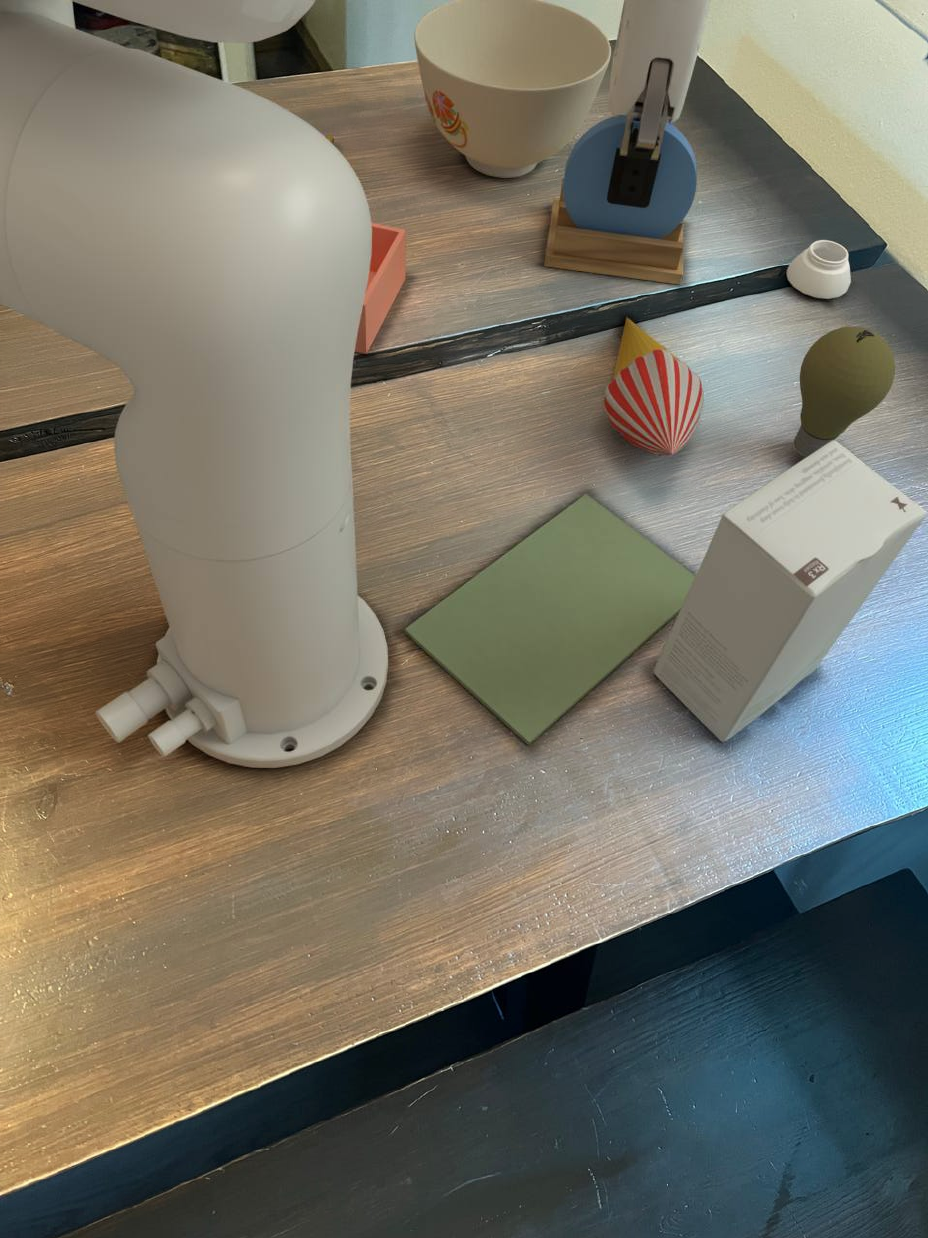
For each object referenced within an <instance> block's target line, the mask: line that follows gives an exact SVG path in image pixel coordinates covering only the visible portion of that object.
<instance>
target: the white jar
mask: <svg viewBox="0 0 928 1238" xmlns="http://www.w3.org/2000/svg"><path fill="white" fill-rule="evenodd" d="M786 278H787V281H788V282H789V283H790V285H791V286H792V287H793V288H795V289H796V290H798V291H799V292H800V293H802V294H804V295H808V296H809V297H813V298H817V299H828V300H829V299H835V298H840V297H842V296H843V295H845V294H846V293H848V289H849V288H850V286H851V283H852V279H851V278H852V277H851V265H850V261H849V251H848V250H847V249H846V247H844V246H843V245H841V244H840V243H837V242H835V241H832V240H827V239H819V240H816V241H814V242H812V243H811V244H810V245H809V247H807V248H806V249H804V250H803V251H802V252H800V253H799V254H798V255H797V256H796V257H795V258H793V260H791V261H790V263H789V265H788V267H787V269H786Z"/></svg>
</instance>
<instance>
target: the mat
mask: <svg viewBox="0 0 928 1238" xmlns="http://www.w3.org/2000/svg"><path fill="white" fill-rule="evenodd" d="M695 576H696V575H694V574H693V573H692V572H691V571H689V570H687V568H685V567H683V566H682V565H681V564H680V563H679V562H677V561H676V560H675V559H673V558H672V557H671V556H670V555H668V554H666V553H665V552H664V551H663V550H661V549H660V548H659V547H658V546H656V545H655V544H653V543H652V542H651V541H649V540H648V539H647V538H645V537H644V536H642V535H641V534H640V533H639V532H637V531H636V530H634V529H633V528H632V527H630V526H629V525H628V524H627V523H625V522H624V521H623V520H622V519H620V518H618V517H617V516H616V515H615V514H613V513H612V512H611V511H609V509H607V508H605V506H603V505H601V504H600V503H599V502H597V501H596V500H595V499H593V498H592V497H591V496H589V495H588V494H587V493H585V494H584V495H582V496H581V497H579V498H578V499H577V500H576V501H574V502H573V503H571V504H570V505H569V506H567V507H566V508H565V509H563V510H562V511H561V512H559V513H558V514H557V515H556V516H554V517H553V518H552V519H550V520H548V521H547V522H546V523H545V524H543V525H542V526H541V527H539V528H538V529H536V530H535V531H534V532H533V533H530V534H529V535H528V536H527V537H525V538H524V539H523V540H522V541H520V542H519V543H518V544H516V545H515V546H514V547H513V548H511V549H510V550H507V552H506V553H504V554H503V555H501V557H499V558H498V559H496V560H495V561H494V562H492V563H491V564H489V565H487V567H485V568H484V569H482V570H481V571H480V572H478V573H477V574H476V575H475V576H473V577H471V579H470V580H468V581H467V582H466V583H464V584H462V586H460V587H459V588H457V589H456V590H454V591H453V592H452V593H451V594H449V595H448V596H447V597H445V598H444V599H443V600H442V601H439V603H437V604H436V605H435V606H433V607H432V608H431V609H429V610H428V611H427V612H425V613H424V614H422V615H421V616H420V617H418V618H417V619H416V620H414V621H413V622H412V623H410V624H409V625H408V626H406V627H404V634H405V635H406V636H407V637H409V638H410V639H411V640H412V641H413V642H415V644H416V645H417V646H418V647H419V648H421V649H422V650H423V651H424V652H425V653H426V654H427V655H428V656H430V657H431V658H432V659H433V660H434V662H436V663H437V664H438V665H439V666H440V667H442V668H443V669H444V671H446V672H447V673H448V674H449V675H450V676H452V678H454V679H455V680H456V681H457V682H458V683H459V684H460V685H461V686H462V687H464V688H465V689H466V690H467V691H468V692H469V693H470V694H472V696H473V697H474V698H476V699H477V701H479V702H480V703H481V704H482V705H483V706H485V708H487V710H489V711H490V712H491V713H492V714H493V715H494V716H495V717H497V718H498V719H499V720H500V721H501V722H502V723H503V724H504V725H505V726H506V727H508V729H510V731H512V732H513V733H514V734H515V735H516V736H517V737H518V738H519V739H520V740H522V741H523V742H524V743H525V744H526V745H527V746H530V745H531V744H532V743H534V742H535V741H536V740H537V739H538V738H539V737H540V736H541V735H542V734H544V733H545V732H546V731H547V730H548V729H549V728H550V727H552V725H554V724H555V723H556V722H557V721H558V720H559V719H560V718H562V716H564V715H565V714H566V713H567V712H568V711H570V710H571V709H572V708H573V707H574V706H575V705H576V704H577V703H578V702H580V701H581V700H582V699H583V698H584V697H585V696H586V695H588V694H589V693H590V692H591V691H593V689H594V688H595V687H597V686H598V685H599V684H600V683H601V682H602V681H603V680H604V679H605V678H607V677H608V676H609V675H610V674H611V673H613V671H615V670H616V669H617V668H618V667H619V666H620V665H622V663H624V662H625V661H626V660H627V659H628V658H629V657H630V656H631V655H633V654H634V653H635V652H636V651H637V650H639V648H641V647H642V646H643V645H644V644H645V643H646V642H647V641H648V640H650V639H651V638H652V637H653V636H654V635H655V634H657V632H659V631H660V630H662V628H663V627H665V625H667V623H669V622H670V621H671V620H672V619H673V618H674V617H676V615H677V616H678V614H679V612H680V609H681V607H682V605H683V603H684V600H685V598H686V596H687V594H688V591H689V589H690V587H691V585H692V583H693V580H694V578H695Z"/></svg>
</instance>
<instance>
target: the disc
mask: <svg viewBox="0 0 928 1238" xmlns="http://www.w3.org/2000/svg"><path fill="white" fill-rule="evenodd" d="M626 116H627V115H620V114H618V115H617V117H615V116H613V115H612V116H610V117H607V118H605V119H603V120H600V121H599V122H598V123H596V124H595V125H593V126H591V127H589V129H587V130H586V132H584V133H583V135H581V136H580V138H579V139H578V140H577V141H576V142H575V144H574V146H573V147H572V149H571V151H570V153H569V154H568V158H567V160H566V164H565V168H564V174H563V178H564V181H563V197H564V202H565V205H566V208H567V211H568V213H569V215H570V217H571V219H572V220H573V222H574V223H575V225H576V226H577V227H578V228H580V229H587V230H595V231H602V232H610V233H617V234H624V235H632V236H639V237H647V238H654V239H661V238H663V237H664V236H666V235H667V234H669V233H670V232H671V231H673V230H674V229H675V228H676V227H677V226H678V225H679V224H680V223H681V222H682V220H683V221H684V219H685V218H686V216H687V215H688V213H689V212H690V210H691V207H692V206H693V203H694V200H695V197H696V192H697V183H698V181H697V180H698V177H697V176H698V171H697V169H698V168H697V162H696V156H695V153H694V150H693V148H692V146H691V144H690V142H689V141H688V139H687V138H686V137H685V135H684V134H683V133H682V132H681V131H680V130H679V129H678V128H677V127H676V126H675V125H673V123H671V124H670V123H669V121H667V122H666V126H665V131H664V135H663V140H662V144H661V149H660V154H661V157H660V162H659V166H658V170H657V174H656V178H655V183H654V187H653V191H652V195H651V199H650V204H649V206H648V207H646V208H640V207H632V206H625V205H617V204H611V203H609V202H608V201H607V193H608V188H609V183H610V178H611V173H612V168H613V163H614V158H615V153H616V148H621V142H622V137H623V132H624V127H625V121H626ZM639 125H640V121H634V124H633V129H632V132H633V130H634V128H639Z"/></svg>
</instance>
